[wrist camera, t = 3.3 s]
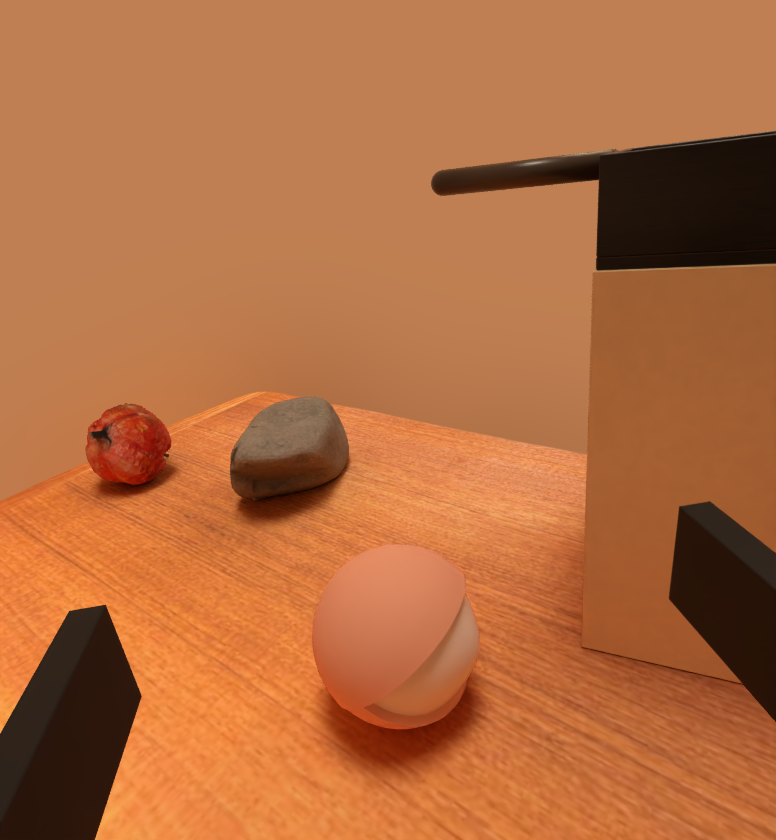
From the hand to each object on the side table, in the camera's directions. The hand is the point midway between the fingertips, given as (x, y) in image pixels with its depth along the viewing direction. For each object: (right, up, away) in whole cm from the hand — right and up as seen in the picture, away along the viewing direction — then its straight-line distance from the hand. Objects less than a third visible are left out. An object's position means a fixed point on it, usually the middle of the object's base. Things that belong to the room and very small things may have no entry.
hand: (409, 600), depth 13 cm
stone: (-8, -2, +35) cm, 36 cm away
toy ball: (0, -9, +15) cm, 17 cm away
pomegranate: (-24, -1, +40) cm, 46 cm away
